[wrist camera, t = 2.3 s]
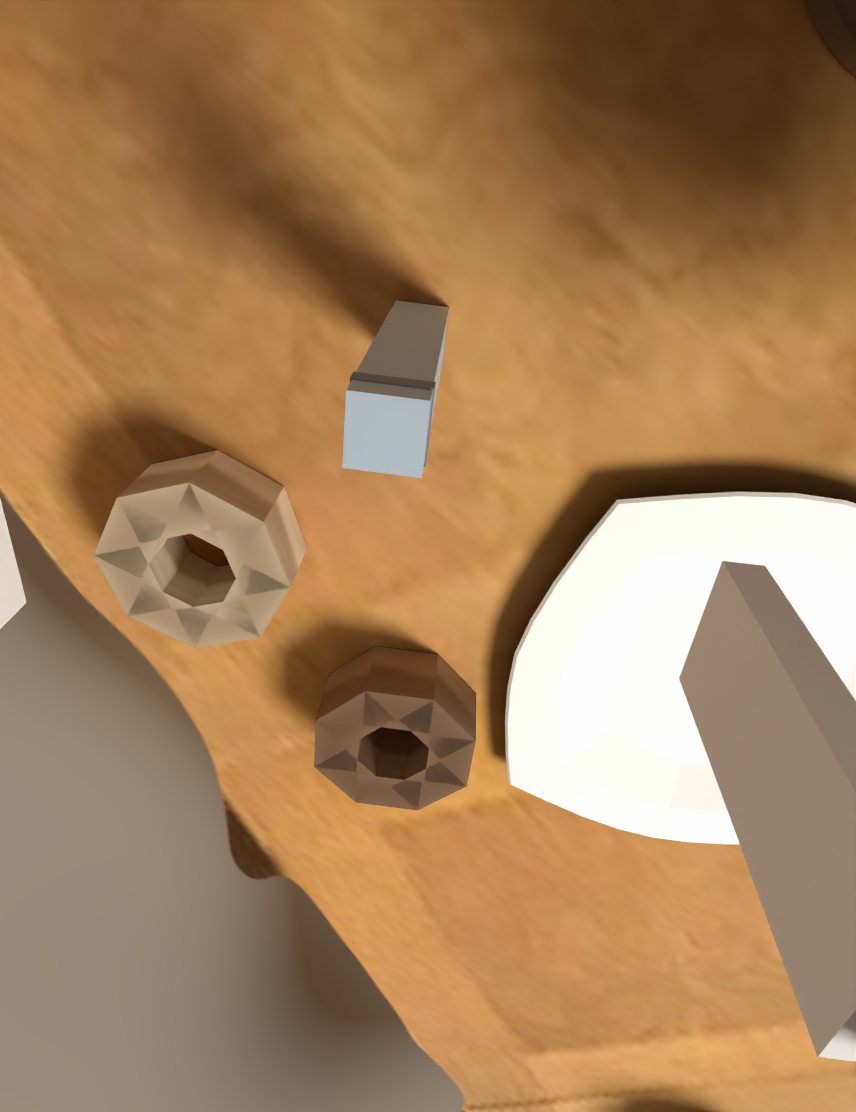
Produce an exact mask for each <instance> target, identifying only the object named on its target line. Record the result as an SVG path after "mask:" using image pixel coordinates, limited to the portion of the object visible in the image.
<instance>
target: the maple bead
mask: <svg viewBox="0 0 856 1112" xmlns="http://www.w3.org/2000/svg"><path fill="white" fill-rule="evenodd" d="M186 534H193V535H195V536H197V537H199V538H201V539H203V540H205V541H207V542H208V543H210V544H212V545H214V546H216V547H218V548H220V549H222V550H223V551H224V553H225V555H226V558H227V560H228V562H229V564H230V565H225V566H219V567H218V566H216V565H214V564H212V563H210V562H208V561H206V560H204V559H202V558H200V557H198V556H197V555H195V554H193V553H191V552H190V550H189V548H188V546H187V544H186V542H185V540H184V538H183V535H186ZM306 550H307V545H306V543H305V540H304V538H303V535H302V532H301V530H300V527H299V524H298V522H297V519H296V517H295V514H294V511H293V509H292V506H291V503H290V501H289V498H288V496H287V493H286V490H285V488H284V486H282V485H280V484H278V483H277V482H275V481H273V480H271V479H269V478H268V477H266V476H264V475H262V474H260V473H259V472H257V471H255V470H253V469H251V468H249V467H248V466H246V465H244V464H242V463H240V462H239V461H237V460H235V459H233V458H231V457H230V456H228V455H226V454H224V453H222V452H220V451H219V450H215V451H210V452H206V453H201V454H197V455H192V456H187V457H183V458H178V459H174V460H169V461H164V462H160V463H155V464H151V465H150V466H149V467H148V468H147V469H146V470H145V471H144V472H143V473H142V474H141V475H140V476H139V477H138V478H137V479H136V480H135V481H134V482H133V483H131V484H130V485H129V486H128V487H127V488H126V489H125V490H124V491H123V492H122V493H121V494H120V495H119V496H118V497H117V499H116V501H115V503H114V506H113V508H112V511H111V513H110V516H109V518H108V521H107V523H106V526H105V528H104V531H103V533H102V536H101V538H100V541H99V543H98V546H97V548H96V550H95V553H94V557H95V559H96V561H97V562H98V564H99V566H100V568H101V569H102V571H103V573H104V575H105V577H106V578H107V580H108V582H109V584H110V585H111V587H112V589H113V591H114V593H115V594H116V596H117V598H118V600H119V602H120V603H121V605H122V607H123V609H124V610H125V612H126V614H127V616H129V617H131V618H133V619H135V620H137V621H139V622H141V623H143V624H145V625H147V626H149V627H151V628H154V629H156V630H158V631H160V632H162V633H164V634H166V635H168V636H170V637H172V638H174V639H176V640H179V641H181V642H183V643H185V644H187V645H189V646H191V647H193V648H199V647H205V646H211V645H217V644H223V643H229V642H236V641H242V640H248V639H254V638H260V636H261V635H262V633H263V632H264V630H265V628H266V627H267V625H268V623H269V622H270V620H271V618H272V617H273V615H274V613H275V612H276V610H277V609H278V607H279V605H280V604H281V602H282V600H283V599H284V597H285V595H286V594H287V592H288V590H289V589H290V587H291V585H292V582H293V580H294V578H295V576H296V573H297V571H298V569H299V566H300V564H301V562H302V559H303V557H304V555H305V552H306Z"/></svg>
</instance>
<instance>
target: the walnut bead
mask: <svg viewBox="0 0 856 1112" xmlns="http://www.w3.org/2000/svg"><path fill="white" fill-rule="evenodd" d="M383 727H384V728H383ZM386 728H392V729H386ZM394 729H400V730H394ZM402 730H408V731H402ZM475 741H476V693H475V692H474V691H473V690H472V689H471V688H470V687H469V686H468V685H467V684H466V683H465V681H464V680H463V679H462V678H461V677H460V676H459V675H458V674H457V673H456V672H455V671H454V670H453V669H452V668H451V667H450V666H449V665H448V664H447V663H446V662H445V661H444V660H443V659H442V658H441V657H440V656H439V655H438V654H433V653H425V652H417V651H409V650H402V649H394V648H386V647H378V646H374V647H373V648H371V649H370V650H368V651H366V652H365V653H363V654H361V655H360V656H358V657H357V658H355V659H353V660H352V661H350V662H349V663H347V664H345V665H344V666H342V667H340V668H339V669H337V670H336V671H334V672H332V673H331V674H329V676H328V680H327V683H326V687H325V690H324V694H323V697H322V701H321V704H320V708H319V711H318V715H317V718H316V729H315V759H314V767H315V768H316V769H317V770H319V771H320V772H321V773H322V774H323V775H325V776H326V777H327V778H328V779H329V780H330V781H332V782H333V783H334V784H335V785H336V786H338V787H339V788H340V789H341V790H342V791H343V792H345V793H346V794H347V795H348V796H349V797H351V798H352V799H353V800H354V801H355V802H357V803H365V804H372V805H380V806H388V807H396V808H404V809H411V810H419V809H421V808H423V807H425V806H427V805H429V804H431V803H433V802H435V801H437V800H439V799H441V798H444V797H446V796H448V795H450V794H452V793H454V792H456V791H458V790H460V789H462V788H464V787H466V786H467V781H468V776H469V771H470V766H471V761H472V756H473V751H474V746H475Z"/></svg>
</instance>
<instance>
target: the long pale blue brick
mask: <svg viewBox="0 0 856 1112" xmlns="http://www.w3.org/2000/svg"><path fill="white" fill-rule="evenodd" d="M448 313H449V307H445V306H437V305H429V304H421V303H413V302H405V301H398V300H396V301H395V303H394V304H393V306H392V308H391V310H390V312H389V313H388V315H387V317H386V319H385V321H384V322H383V324H382V326H381V328H380V330H379V332H378V333H377V335H376V337H375V339H374V341H373V342H372V344H371V346H370V348H369V350H368V351H367V353H366V355H365V357H364V359H363V361H362V362H361V364H360V366H359V368H358V370H357V371H356V372H353V374H352V375H351V377H350V384H349V386H348V388H347V390H346V404H345V425H344V446H343V467H342V468H347V469H355V470H363V471H371V472H379V473H386V474H394V475H402V476H410V477H418V478H422V473H423V468H424V467H426V461H427V454H428V446H429V437H430V429H431V424H432V418H433V413H434V407H435V401H436V396H437V390H438V385H439V379H440V374H441V368H442V363H443V355H444V347H445V338H446V330H447V322H448Z"/></svg>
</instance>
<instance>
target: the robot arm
mask: <svg viewBox="0 0 856 1112" xmlns="http://www.w3.org/2000/svg"><path fill="white" fill-rule="evenodd" d="M805 2H806V4H807V7H808V9H809V12H810V14H811V16H812V18H813V21H814V23H815V25H816V27H817V28H818V30H819V32H820V34H821V36H822V38H823V39H824V41H825V42H826V44H827V45H828V46H829V48H830V49H831V51H832V52H833V54H834V55H835V56H836V57H837V58H838V60H839V61H840V62H841V63H842V64H843V65H844V66H845V67H846V68H847V69H848V70H849V71H850V72H851V73H852V74H853V75H854V76H855V77H856V0H805ZM25 603H26V599H25V595H24V591H23V587H22V583H21V579H20V575H19V571H18V567H17V563H16V559H15V555H14V551H13V547H12V543H11V539H10V536H9V532H8V528H7V523H6V520H5V516H4V512H3V508H2V504H1V500H0V629H1V628H2V627H3V626H4V625H5V624H6V623H7V622H8V621H9V619H11V617H13V616H14V614H16V613H17V612H18V610H19V609H20V608H21V607H22V606H23V605H24V604H25ZM679 680H680V683H681V685H682V688H683V691H684V694H685V696H686V699H687V702H688V704H689V707H690V710H691V713H692V715H693V718H694V721H695V724H696V726H697V729H698V732H699V734H700V737H701V740H702V743H703V745H704V748H705V751H706V754H707V756H708V759H709V762H710V764H711V767H712V770H713V773H714V775H715V778H716V781H717V783H718V786H719V789H720V792H721V794H722V797H723V800H724V803H725V805H726V808H727V811H728V813H729V816H730V819H731V822H732V824H733V827H734V830H735V833H736V835H737V838H738V841H739V843H740V846H741V849H742V852H743V854H744V857H745V860H746V862H747V865H748V868H749V871H750V873H751V876H752V879H753V882H754V884H755V887H756V890H757V892H758V895H759V898H760V901H761V903H762V906H763V909H764V912H765V914H766V917H767V920H768V922H769V925H770V928H771V931H772V933H773V936H774V939H775V941H776V944H777V947H778V950H779V952H780V955H781V958H782V961H783V963H784V966H785V969H786V971H787V974H788V977H789V980H790V982H791V985H792V988H793V990H794V993H795V996H796V999H797V1001H798V1004H799V1007H800V1010H801V1012H802V1015H803V1018H804V1020H805V1023H806V1026H807V1029H808V1031H809V1034H810V1037H811V1040H812V1042H813V1045H814V1048H815V1050H816V1053H817V1056H818V1057H824V1058H832V1059H840V1060H848V1061H856V700H855V699H854V697H853V696H852V694H851V693H850V691H849V690H848V689H847V687H846V686H845V684H844V683H843V681H842V680H841V678H840V677H839V675H838V674H837V672H836V671H835V669H834V668H833V666H832V665H831V663H830V662H829V660H828V659H827V657H826V656H825V654H824V653H823V651H822V650H821V648H820V647H819V645H818V644H817V642H816V641H815V639H814V638H813V636H812V635H811V633H810V632H809V630H808V629H807V627H806V626H805V624H804V623H803V621H802V620H801V618H800V617H799V615H798V614H797V612H796V611H795V609H794V608H793V606H792V605H791V603H790V602H789V600H788V599H787V597H786V596H785V594H784V593H783V591H782V590H781V588H780V587H779V585H778V584H777V582H776V581H775V579H774V578H773V577H772V575H771V574H770V572H769V571H768V569H767V568H766V566H764V565H755V564H746V563H737V562H729V561H722V563H721V566H720V568H719V571H718V574H717V577H716V579H715V582H714V585H713V587H712V590H711V593H710V596H709V598H708V601H707V604H706V606H705V609H704V612H703V615H702V617H701V620H700V623H699V625H698V628H697V631H696V634H695V636H694V639H693V642H692V644H691V647H690V650H689V653H688V655H687V658H686V661H685V663H684V666H683V669H682V672H681V674H680V677H679Z"/></svg>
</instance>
